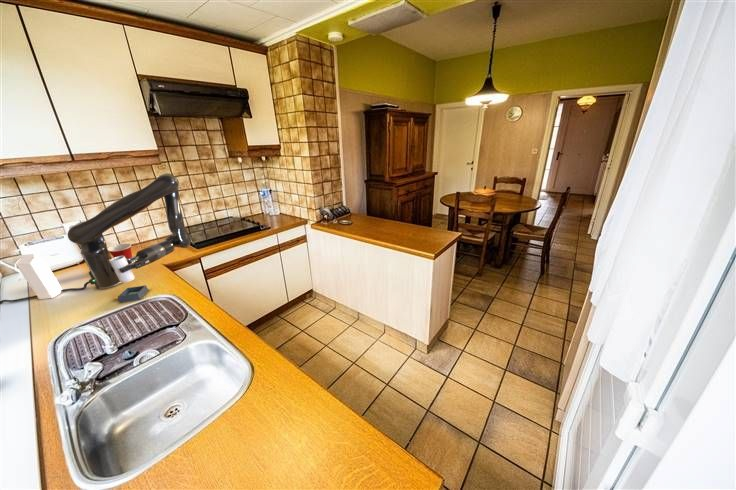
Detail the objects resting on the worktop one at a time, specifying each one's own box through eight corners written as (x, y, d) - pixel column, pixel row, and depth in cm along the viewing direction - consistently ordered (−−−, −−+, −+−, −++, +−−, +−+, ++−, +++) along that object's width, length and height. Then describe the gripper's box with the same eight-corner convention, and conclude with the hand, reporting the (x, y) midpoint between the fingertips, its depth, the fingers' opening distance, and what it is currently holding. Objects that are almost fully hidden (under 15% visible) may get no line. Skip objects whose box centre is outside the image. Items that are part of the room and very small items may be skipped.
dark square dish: (120, 302, 120) (117, 297, 119) (129, 293, 127) (127, 288, 126) (140, 299, 122) (137, 293, 120) (148, 290, 129) (146, 285, 127)
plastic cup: (125, 269, 152) (116, 250, 147) (110, 268, 154) (101, 249, 149) (143, 261, 161) (135, 243, 157) (129, 260, 164) (121, 242, 159)
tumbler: (117, 283, 118) (106, 261, 114) (124, 278, 123) (113, 256, 118) (131, 281, 119) (120, 259, 115) (137, 276, 124) (127, 254, 119)
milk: (52, 298, 127) (26, 257, 118) (38, 299, 127) (11, 258, 118) (64, 291, 133) (40, 251, 124) (51, 292, 132) (26, 252, 123)
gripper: (137, 246, 131) (99, 262, 116) (160, 247, 128) (124, 264, 113) (143, 260, 134) (107, 277, 119) (166, 261, 131) (131, 279, 116)
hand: (115, 270), depth 116 cm, fingers closed on tumbler, 5 cm apart
